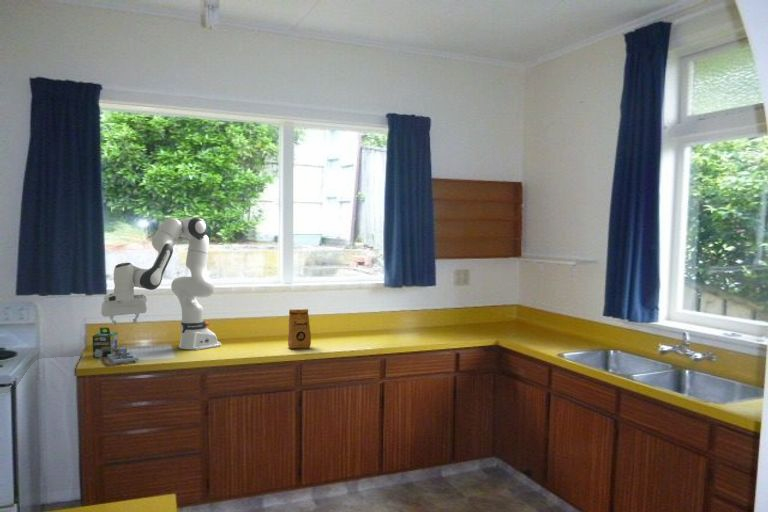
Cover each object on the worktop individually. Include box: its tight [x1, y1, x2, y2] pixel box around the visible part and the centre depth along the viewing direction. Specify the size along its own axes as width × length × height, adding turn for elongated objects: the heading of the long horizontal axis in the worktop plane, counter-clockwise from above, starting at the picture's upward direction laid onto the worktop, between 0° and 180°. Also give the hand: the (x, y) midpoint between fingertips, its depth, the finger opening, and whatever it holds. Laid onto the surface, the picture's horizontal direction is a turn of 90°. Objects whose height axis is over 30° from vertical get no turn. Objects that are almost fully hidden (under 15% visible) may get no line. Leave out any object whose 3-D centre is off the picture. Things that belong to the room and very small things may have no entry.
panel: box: [107, 346, 139, 363], centre depth 269 cm, size 11×15×5 cm
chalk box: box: [91, 326, 119, 358], centre depth 279 cm, size 9×9×15 cm
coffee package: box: [287, 308, 312, 350], centre depth 305 cm, size 10×12×22 cm
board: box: [101, 347, 136, 368], centre depth 267 cm, size 12×16×5 cm
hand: (124, 323), depth 269 cm, fingers open, 8 cm apart
